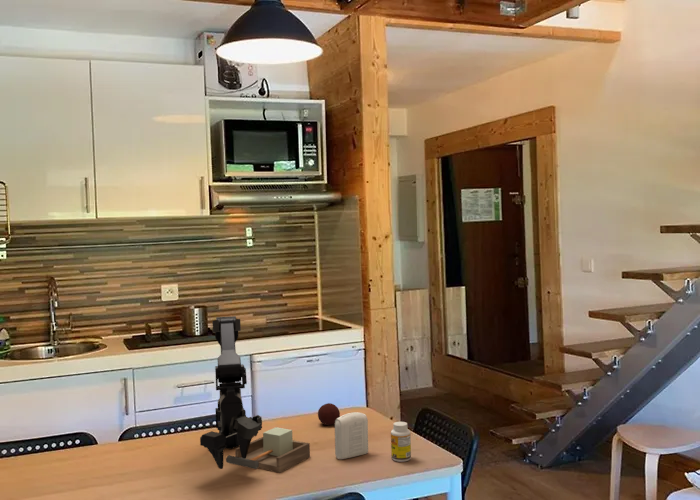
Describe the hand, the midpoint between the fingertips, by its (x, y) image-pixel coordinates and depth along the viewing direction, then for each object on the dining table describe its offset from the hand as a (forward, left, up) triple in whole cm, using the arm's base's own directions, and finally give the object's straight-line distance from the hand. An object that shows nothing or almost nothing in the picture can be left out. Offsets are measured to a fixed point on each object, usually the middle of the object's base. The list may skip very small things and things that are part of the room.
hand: (232, 463), depth 186 cm
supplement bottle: (+35, +31, -3) cm, 47 cm away
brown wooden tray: (+3, +13, -2) cm, 14 cm away
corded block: (+3, +9, -1) cm, 9 cm away
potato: (-2, +49, -3) cm, 49 cm away
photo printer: (+21, +27, -3) cm, 35 cm away
